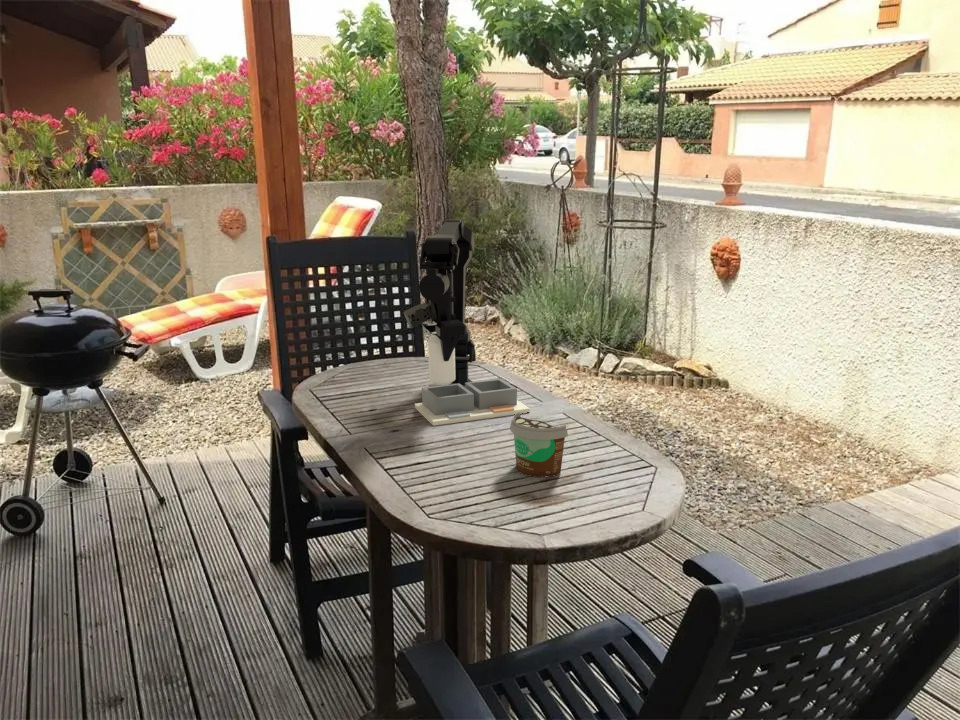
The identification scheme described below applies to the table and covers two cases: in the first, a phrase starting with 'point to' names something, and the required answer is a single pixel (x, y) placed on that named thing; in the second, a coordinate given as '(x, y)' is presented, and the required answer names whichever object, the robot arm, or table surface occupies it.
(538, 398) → the table surface
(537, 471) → the food container
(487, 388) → the socket board
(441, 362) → the beverage can
